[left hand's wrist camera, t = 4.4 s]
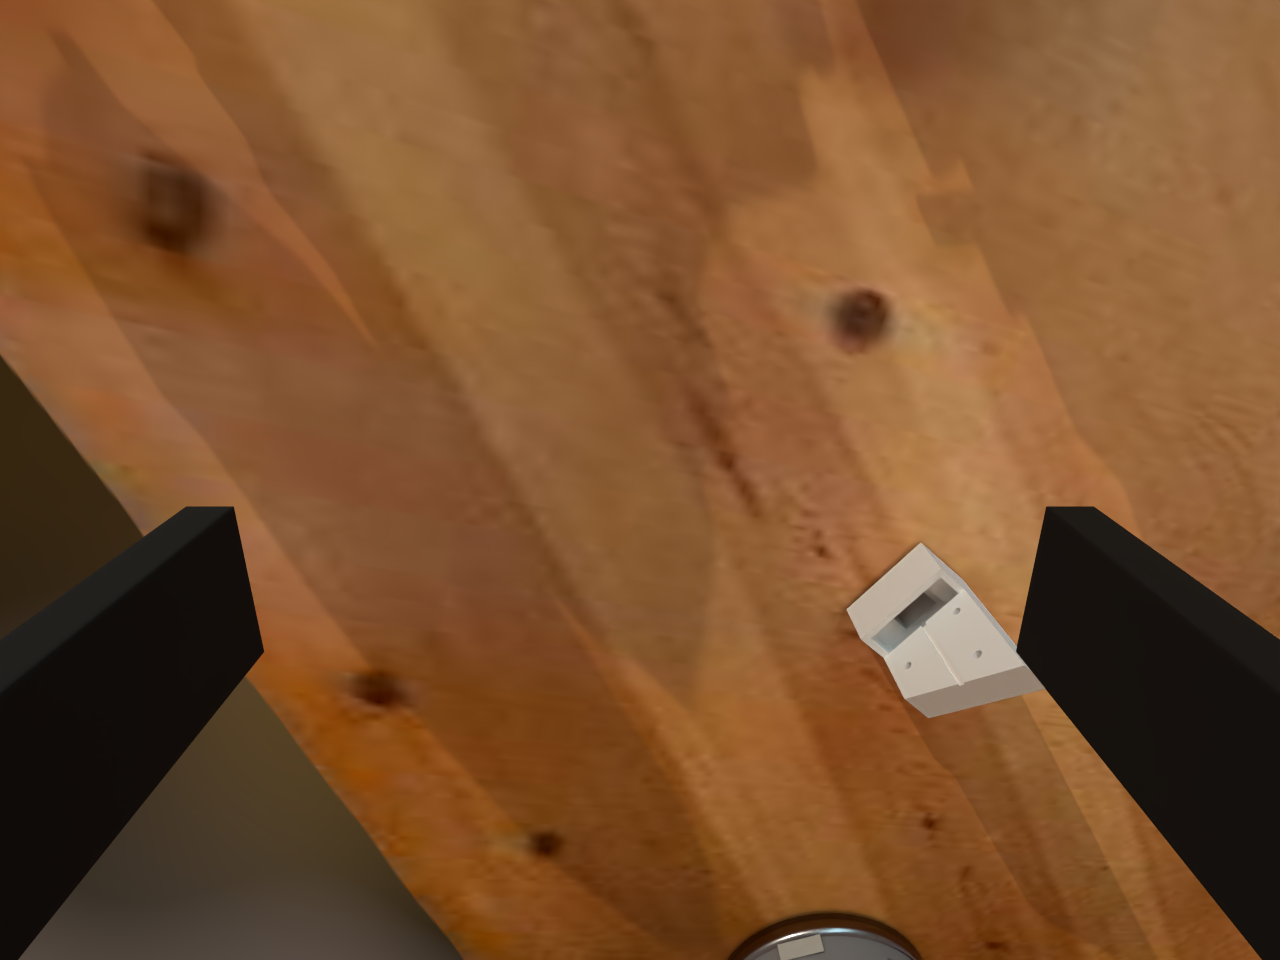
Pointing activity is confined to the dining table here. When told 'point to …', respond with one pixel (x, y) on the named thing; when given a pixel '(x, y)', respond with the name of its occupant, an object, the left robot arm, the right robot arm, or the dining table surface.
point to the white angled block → (939, 638)
